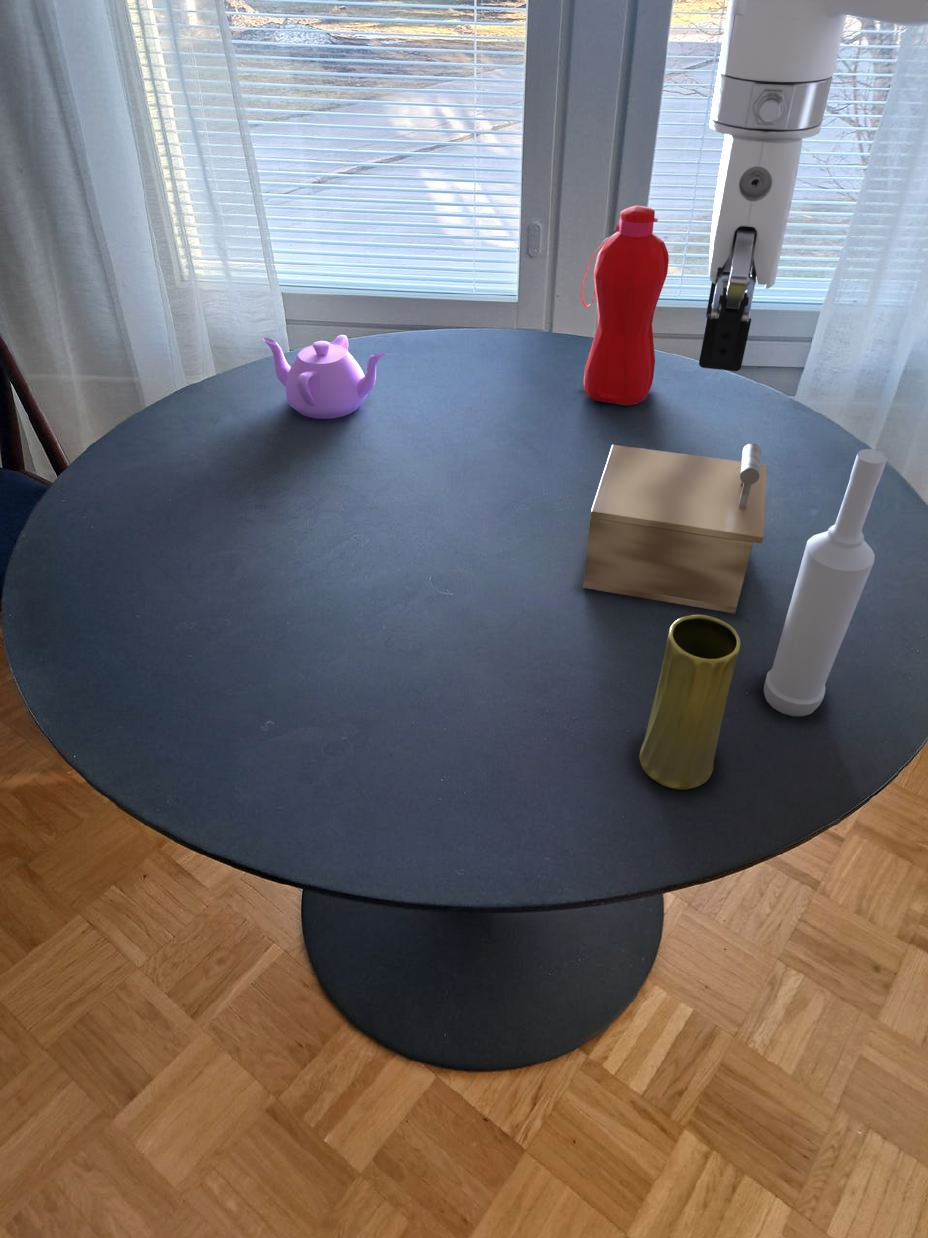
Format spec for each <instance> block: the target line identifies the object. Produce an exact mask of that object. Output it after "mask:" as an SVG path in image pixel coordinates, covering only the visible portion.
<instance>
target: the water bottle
mask: <svg viewBox="0 0 928 1238" xmlns="http://www.w3.org/2000/svg"><path fill="white" fill-rule="evenodd" d="M655 215H656V210H655V209H653V208H651V207H649V206H644V205H633V206H629V207H627V208H624V209H622V210H621V211H620V214H619V222H618V223H616V224H615V225H614V229H613V233H612V234H611V235H609V236H608V237H606V238H605V239H604V240H603V241H602V243H601V245H599V247H598V248H596V250H595V251H594V252H593V254H592V256H591V257H590V260H589V262H588V266H587V267H586V271H585V274H584V278H583V282H582V285H581V291H580V293H581V294H580V297H581V298H580V300H581V303H582V305H583V306H584V307H588V308H589V307H590V306H591V305H593V303H594V300H595V299H596V308H597V327H596V330H595V334H594V337H593V339H592V343H591V346H590V350H589V353H588V356H587V359H586V362H585V366H584V375H583V387H584V392H585V395H586V396H588V397H589V398H590V399H591V400H593V401H594V402H601V403H608V404H615V405H621V406H627V407H628V406H633V405H638V404H641V402H642V401H644V400H645V399H647V397H648V395H649V393H650V391H651V388H652V386H653V381H654V374H655V366H656V355H655V354H656V353H655V346H654V345H655V342H654V332H653V321H654V315H655V310H656V308H657V306H658V305H657V304H658V301H659V299H660V297H661V293H662V290H663V287H664V284H665V282H666V278H667V276H668V272H669V263H670V262H669V261H670V259H669V258H670V257H669V251H668V249H667V247H666V243H665V242H664V241H663V240H662V239H661V238H660V237H659V236H658V235H656V234H655V233H654V223H657V222H658V221H659V218H657V217H655ZM598 250H599V252H598V253H597V255H596V261H595V266H594V271H593V281H594V290H593V291H594V292H593V298H592V300H591V301H592V302H591V303H590V304H585V302H584V300H583V291H584V284H585V280H586V277H587V275H588V274H587V273H588V271H589V267H590V264H591V261H592V260H593V257H594V255H595V253H596V252H597V251H598Z"/></svg>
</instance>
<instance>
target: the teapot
mask: <svg viewBox="0 0 928 1238" xmlns="http://www.w3.org/2000/svg"><path fill="white" fill-rule="evenodd" d="M262 340H263V341H264V342H265V343H266V345H267V346H268V347H269V348H270V350H271V353H272V356H273V362H274V370H275V375H276V377H277V379H278V381H279V382H280V384H281V385H282V386H283V387H284V388H285V398H286V401H287V403H288V404H289V405H290V406H291V407H292V408H293V409H294V410H295V411H297V412H298V413H299V414H301V415H302V416H304V417H307V418H312V419H319V420H321V419H322V420H326V419H327V420H329V419H330V420H331V419H337V418H342V417H345V416H348V415H350V414H352V413H354V412H355V411H357V410H358V409H359V408H360V407H361V405H362V404H363V403H364V401H365V400H366V399H367V396H368V395H369V394H370V393H371V392H373V389H374V387H375V385H376V380H377V365H378V362H379V361H380V359H381V358H382V357H384V356H386V354H387V353H386V352H377V353H374V354H372V355H370V356H369V358H368V360H367V364H366V372H365V374H364V371H363V370H362V368H361V367H360V365H359V363H358V362H357V360H356V359H355V358H354V357H353V355H352V354H351V353H350V352H349V340H348V337H347V335H345V334H340V335H338V336H337V337H336V338H335V339H334V340H333V341H332V343H330V342H329V341H326V340H319V341H315V342H313V344H312V345H309V346H306V347H304V348H302V349H301V350H299V352H298V353H297V354H296V356H295V358H294V359H293V362H292V364H291V366H290V365H289V364H288V362H287V360H286V358H285V355H284V352H283V349H282V347H281V346H280V345H279V343H278V342H276V341H275V340H273V339H272V338H269V337H262Z"/></svg>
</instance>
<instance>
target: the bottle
mask: <svg viewBox="0 0 928 1238" xmlns="http://www.w3.org/2000/svg"><path fill="white" fill-rule="evenodd" d="M887 461H888V457H887V455H886V454H885V453H883V452H882V451H879V450H877V449H871V448H869V449H867V448H866V449H860V450H859V451H858V452H857V454H856V457H855V460H854V462H853V463H854V464H853V466H852V469H851V473H850V476H849V481H848V484H847V486H846V490H845V494H844V496H843V499H842V502H841V505H840V508H839V512H838V515H837V517H836V521H835V523H834V524H833V525H831V526H830V527H828V529H827V531H824V532H821V533H817V534H814V535H812V536H811V537H810V538H809V539H808V540H807V542H806V544H805V549H804V552H803V556H802V560H801V563H800V567H799V571H798V574H797V576H796V577H797V578H796V580H795V585H794V588H793V591H792V595H791V599H790V603H789V606H788V609H787V613H786V617H785V621H784V623H783V629H782V632H781V636H780V639H779V643H778V645H777V650H776V653H775V655H774V656H775V657H774V661H773V664H772V668H771V669H770V670H769V671H768V672H767V674H766V676H765V681H764V685H763V693H764V694H763V695H764V697H765V700H766V702H767V704H769V705H770V707H771V708H772V709H774V710H776V711H777V712H779V713H780V714H784V715H787V716H791V717H805V716H808V715H811V714H813V713H814V712H815V711H816V710H817V709H818V708H819V706H821V704H822V703H823V700H824V697H825V696H826V695H825V694H826V690H827V689H826V683H827V681H828V678H829V676H830V673H831V671H832V668H833V666H834V663H835V660H836V659H837V656H838V654H839V650H840V649H841V646H842V643H843V641H844V638H845V636H846V634H847V631H848V628H849V626H850V623H851V621H852V618H853V616H854V614H855V612H856V608H857V606H858V604H859V601H860V598H861V596H862V593H863V591H864V588H865V585H866V584H867V581H868V579H869V576H870V573H871V571H872V569H873V566H874V565H875V564H874V563H875V559H876V558H875V557H876V554H875V552H874V550H873V549H872V547H871V546H870V545H869V544H868V543H867V542H866V541H865V535H864V533H863V532H862V531H863V528H864V525H865V522H866V520H867V516H868V513H869V510H870V507H871V505H872V502H873V499H874V496H875V493H876V491H877V487H878V485H879V483H880V481H881V478H882V475H883V473H884V470H885V468H886V464H887Z"/></svg>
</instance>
